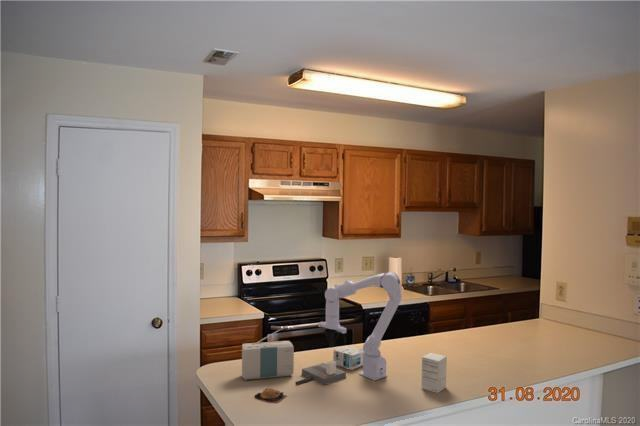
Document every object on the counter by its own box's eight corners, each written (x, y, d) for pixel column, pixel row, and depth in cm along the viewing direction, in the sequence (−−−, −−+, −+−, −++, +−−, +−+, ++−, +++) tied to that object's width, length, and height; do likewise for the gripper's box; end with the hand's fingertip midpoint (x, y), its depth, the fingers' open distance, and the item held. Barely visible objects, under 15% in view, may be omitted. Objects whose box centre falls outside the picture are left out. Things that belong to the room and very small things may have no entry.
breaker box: (345, 378, 200) (345, 372, 200) (323, 385, 193) (323, 378, 193) (323, 368, 211) (323, 362, 211) (301, 374, 203) (301, 368, 203)
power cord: (312, 380, 197) (312, 377, 197) (297, 385, 192) (297, 382, 192) (311, 379, 198) (311, 376, 198) (295, 384, 193) (295, 381, 193)
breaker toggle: (336, 373, 199) (336, 362, 198) (329, 375, 196) (329, 364, 196) (332, 371, 200) (332, 360, 200) (326, 373, 198) (326, 362, 198)
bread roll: (288, 397, 182) (288, 387, 182) (276, 405, 175) (276, 395, 174) (264, 391, 187) (265, 382, 187) (252, 399, 179) (252, 389, 179)
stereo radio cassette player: (242, 382, 195) (243, 332, 194) (240, 374, 203) (241, 327, 202) (293, 377, 200) (294, 329, 200) (289, 370, 208) (290, 324, 208)
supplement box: (429, 383, 196) (430, 352, 196) (446, 387, 192) (447, 356, 191) (420, 388, 191) (421, 356, 190) (438, 393, 186) (439, 360, 186)
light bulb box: (332, 364, 216) (351, 370, 209) (333, 349, 216) (352, 355, 209) (347, 358, 224) (366, 364, 217) (347, 344, 224) (367, 349, 217)
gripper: (351, 316, 206) (350, 348, 206) (326, 310, 216) (326, 340, 216) (340, 319, 201) (339, 352, 201) (315, 313, 211) (314, 344, 211)
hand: (331, 346), depth 208 cm, fingers closed
